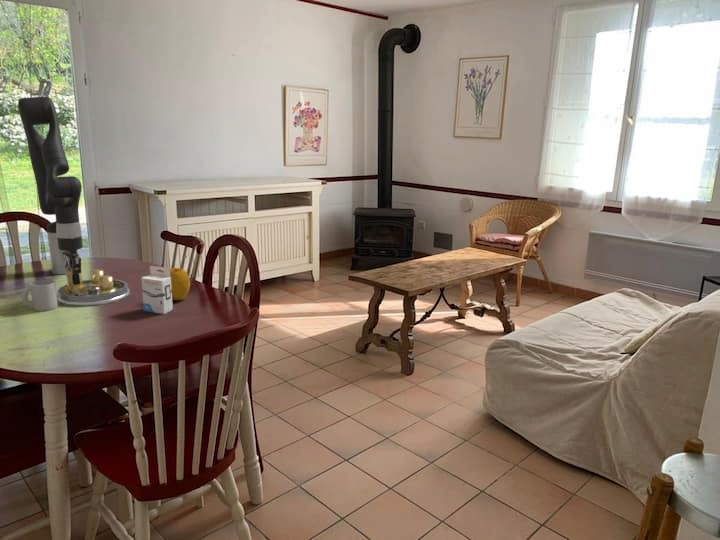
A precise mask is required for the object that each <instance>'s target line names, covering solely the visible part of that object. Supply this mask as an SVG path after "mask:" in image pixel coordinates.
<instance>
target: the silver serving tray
mask: <svg viewBox="0 0 720 540" xmlns="http://www.w3.org/2000/svg"><path fill="white" fill-rule="evenodd" d="M89 273H90V279H85V280H82V284H85V285H86V288H87V291H85V292H83V293H79V294H74V295H73V294H66V293H64V286H67V284H65V285H63V286H60V287H59V289H58V290H57V302H58V304H62V305H65V306H70V307H93V306H94V307H95V306H102V305H107V304H112V303H115V302H119V301H122V300H124V299H126V298H127V297H129V295H130V292H131V291H130V288H129V286H128V285H129V284H128V283H127V282H126V281H125V280H121V279H115V278H113V276H112V275H105V274H104V273H105V272H104V269H93V270H90V272H89Z"/></svg>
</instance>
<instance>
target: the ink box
mask: <svg viewBox="0 0 720 540" xmlns="http://www.w3.org/2000/svg"><path fill="white" fill-rule="evenodd" d="M170 269H171V268H170V267H164V266H154V265H150V266H149V272H150V274H148V275H144V276H142V277H140V279H141V291H142V292H141V293H142V309H143V312H149V313H155V314H161V315H164V314H165V315H166V314H167V313H169V312H171V311H173V306H174V305H173V299H172V289H171V277H170ZM159 270H160V271H159ZM162 271H163V272H162Z"/></svg>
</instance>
